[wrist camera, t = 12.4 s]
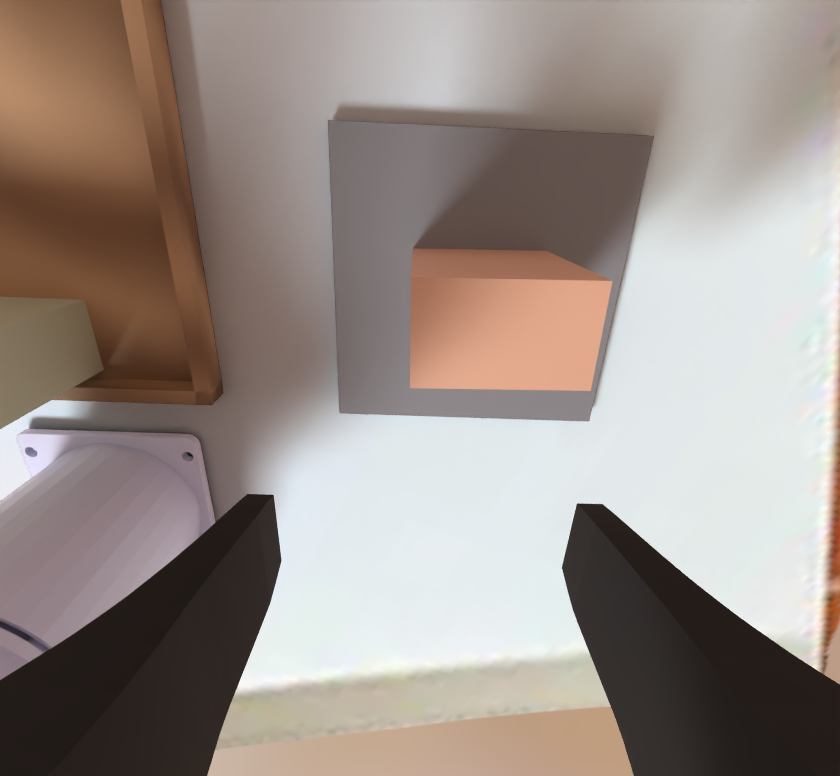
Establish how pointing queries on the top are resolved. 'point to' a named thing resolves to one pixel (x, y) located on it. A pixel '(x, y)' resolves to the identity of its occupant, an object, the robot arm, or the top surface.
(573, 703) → the top surface
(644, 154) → the mat
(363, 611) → the top surface
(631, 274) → the top surface
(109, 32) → the wooden serving tray
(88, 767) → the robot arm
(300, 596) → the top surface
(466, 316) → the salmon pink box
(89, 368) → the khaki rectangular block
